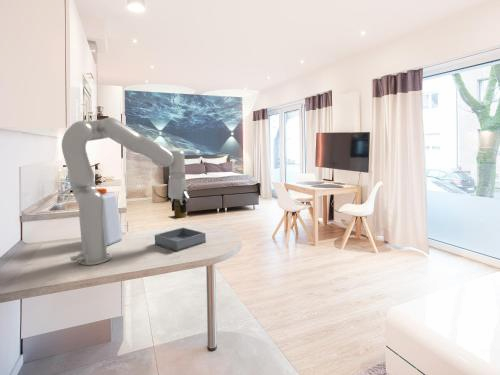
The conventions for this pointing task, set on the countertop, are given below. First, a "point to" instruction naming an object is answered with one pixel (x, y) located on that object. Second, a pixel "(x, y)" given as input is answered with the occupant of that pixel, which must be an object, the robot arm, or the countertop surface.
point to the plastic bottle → (111, 217)
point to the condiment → (178, 210)
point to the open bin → (180, 239)
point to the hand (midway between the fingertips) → (179, 211)
